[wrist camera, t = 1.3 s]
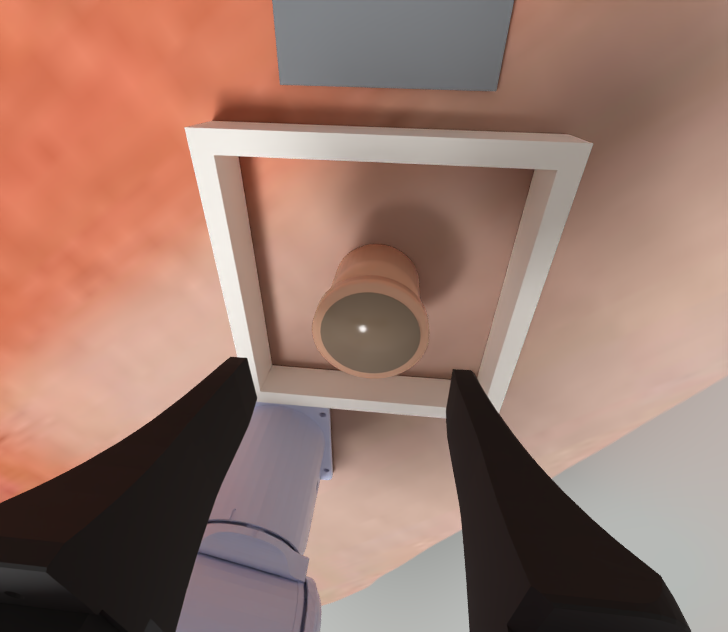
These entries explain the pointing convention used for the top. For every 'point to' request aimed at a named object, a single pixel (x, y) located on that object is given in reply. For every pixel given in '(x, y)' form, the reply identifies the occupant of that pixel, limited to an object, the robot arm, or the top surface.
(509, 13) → the slate mat
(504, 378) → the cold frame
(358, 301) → the terracotta pot
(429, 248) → the top surface
